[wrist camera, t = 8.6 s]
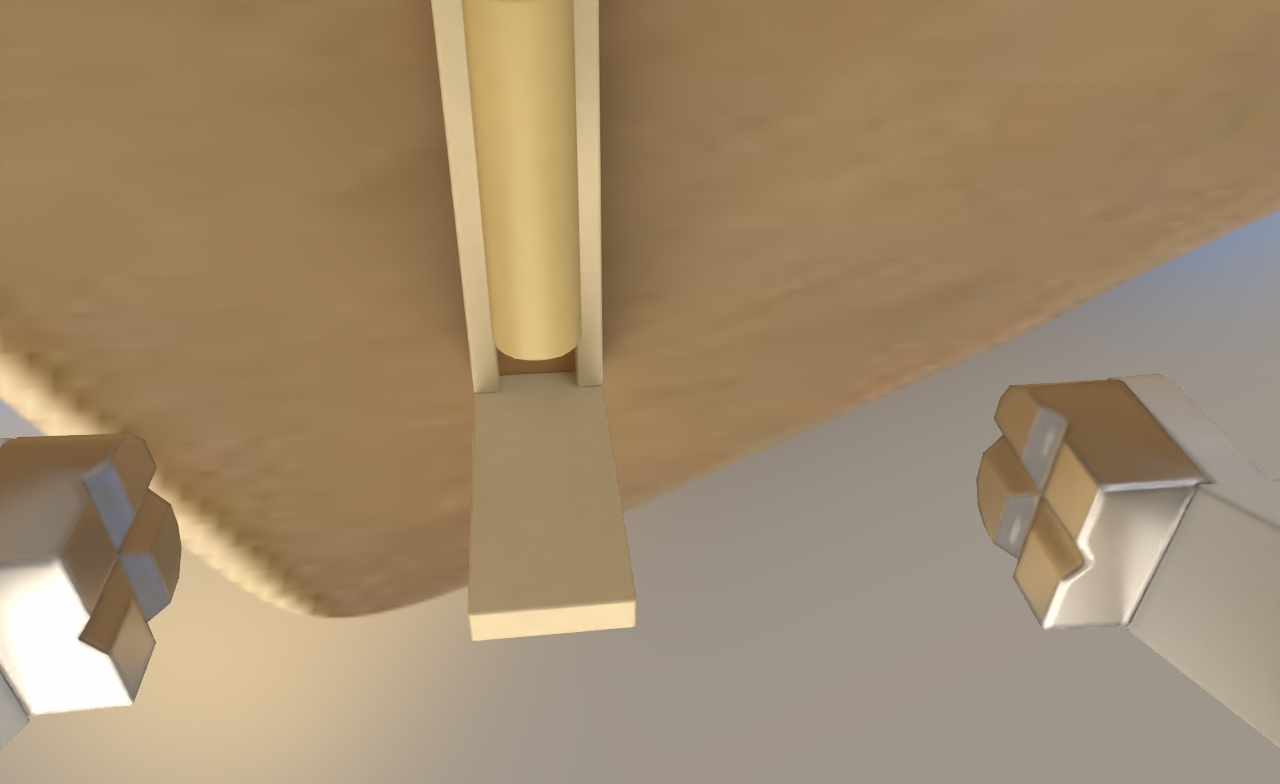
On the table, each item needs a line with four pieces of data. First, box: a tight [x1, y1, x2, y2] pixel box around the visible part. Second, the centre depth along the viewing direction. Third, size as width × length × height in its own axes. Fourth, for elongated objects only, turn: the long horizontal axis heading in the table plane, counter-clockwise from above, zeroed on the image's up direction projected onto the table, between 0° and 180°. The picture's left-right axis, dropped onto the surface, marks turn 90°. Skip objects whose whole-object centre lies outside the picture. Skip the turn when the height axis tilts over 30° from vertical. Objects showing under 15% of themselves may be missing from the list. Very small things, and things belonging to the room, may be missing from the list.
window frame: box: [431, 0, 637, 641], centre depth 22 cm, size 4×18×11 cm, turn 179°
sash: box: [461, 0, 582, 360], centre depth 19 cm, size 2×8×11 cm, turn 179°
